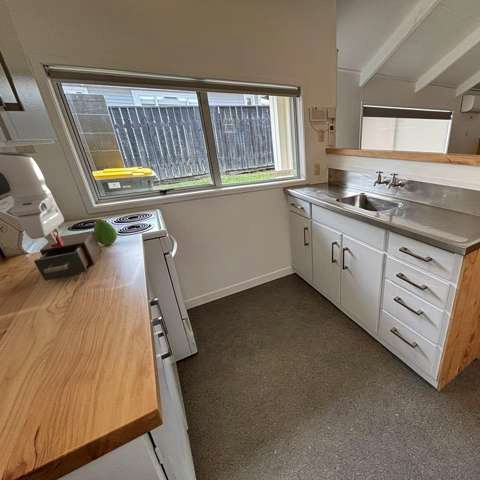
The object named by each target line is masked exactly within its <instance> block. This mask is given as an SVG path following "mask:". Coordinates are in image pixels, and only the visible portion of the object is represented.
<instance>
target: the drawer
mask: <svg viewBox="0 0 480 480" xmlns="http://www.w3.org/2000/svg"><path fill="white" fill-rule="evenodd" d="M89 262H90V259H89V257H88V255H87V253H86V251H85V248H84V246H83V245H77V246H72V247H67V248H61V249H56V250H51V251H47V252H46V253H45V254H44V255H43V256H42V255H41V256H40V257H39V258H37V259H34V260H33V263H34V264H35V266H36V268H37V270H38V271H39V273H40V275H41V277H42V279H43V281H44V282H46V281H51V280H56V279H59V278H65V277H69V276H74V275H77V274H82V273H86V272H88V268H87V267H88V266H87V265H88V264H89Z"/></svg>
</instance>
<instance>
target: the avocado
mask: <svg viewBox="0 0 480 480" xmlns="http://www.w3.org/2000/svg"><path fill="white" fill-rule="evenodd" d="M93 231H94V234H95V236H96V239H97V241H98V243H99V244H101V245H103V246H110V245H112V244H113V243H115V242H116V240H117V238H118V233H117V231H116V229H115V228H114V226H112V225H111V223H109V222H108V221H107V220H104V219H98V220H96V221H95V223H94V227H93Z"/></svg>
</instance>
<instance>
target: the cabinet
mask: <svg viewBox="0 0 480 480" xmlns="http://www.w3.org/2000/svg"><path fill="white" fill-rule="evenodd" d="M60 237H61V240H62V242H63V245H62V246H60V247H54V248H52V246H51V244H49V242H48V241H47V243H46V244H45V245H43V247H41V248H40V249H39V252H40V254H41V257H42V256H43V255H44V254H45V253H46V252H47V251H51V250H56V249H61V248H67V247H72V246H77V245H83V246H84V248H85V251H86V253H87V255H88V257H89V259H90V262H89V264H88V265H87V267H89V266H94V265H96V263H97V261H98V259H99V257H100V255H101V253H102V252H103V251H102V248H101V246H100V243H99V242H98V241H97V239H96V236H95V234H94V230H89V231H83V232H78V233H77V232H76V233H73V234H66V235H65V234H64V235H60Z"/></svg>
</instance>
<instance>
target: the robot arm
mask: <svg viewBox="0 0 480 480" xmlns="http://www.w3.org/2000/svg"><path fill="white" fill-rule="evenodd" d="M7 195H8V196H10V197H11V199H12V200H13V206H12V208H11V213H12V215H13V217H17V220H18V223H19V225H20V226H21V228H22V229H23V231H24V233H25V234H26V236H27V237H28V238H30V239H31V240H36V239H43V238H44V239H45V240H47V243H48V242H49V244H51V245H52V244H56V243H57V242H58V241H57V239H56V238H55V237H54V236H53V235H52V234H53V233H52V231H53V232H56V233H57V236H61V235H60V229H59V226H60V225H62V224H63V223H64V222H65V218H64V215H63V213H62V212H61V210H60V208H59V207H58V205H57V201H56V200H55V198H54V196H53V194H52V191H51V190H50V188H48V186H47V184H46V179H45V176H44V174H43V173H42V171H41V168H40V167H39V165H38V164H37V162H36V161H35V160H34V158H33V157H31V155H29V154H26V153H22V152H15V151H14V152H12V151H0V197H3V196H7ZM60 238H61V237H60Z"/></svg>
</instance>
